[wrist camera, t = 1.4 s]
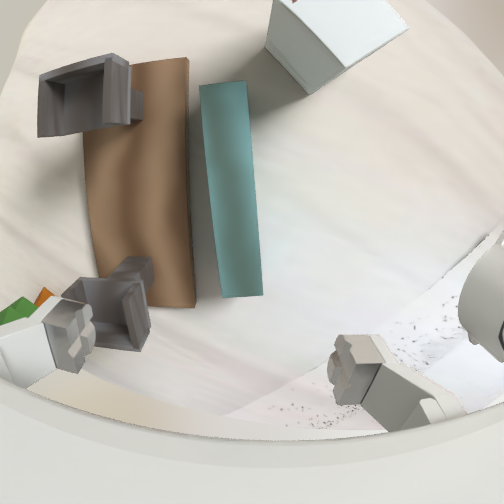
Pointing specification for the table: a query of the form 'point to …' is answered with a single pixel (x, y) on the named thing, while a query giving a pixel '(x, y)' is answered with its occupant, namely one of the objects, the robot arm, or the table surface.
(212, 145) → the teal rail
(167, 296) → the bracket stand
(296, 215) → the table surface
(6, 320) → the decorative tree
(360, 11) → the supplement box
